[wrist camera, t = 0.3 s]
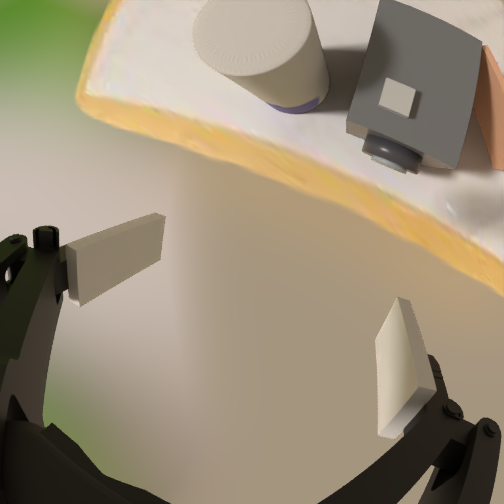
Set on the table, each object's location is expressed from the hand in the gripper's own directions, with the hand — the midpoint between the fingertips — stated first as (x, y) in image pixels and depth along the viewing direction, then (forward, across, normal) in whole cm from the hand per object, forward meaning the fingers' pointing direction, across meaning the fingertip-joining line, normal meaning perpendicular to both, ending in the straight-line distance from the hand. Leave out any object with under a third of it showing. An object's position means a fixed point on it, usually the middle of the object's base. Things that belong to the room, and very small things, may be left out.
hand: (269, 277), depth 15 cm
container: (+28, -8, +16) cm, 33 cm away
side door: (+27, +19, +21) cm, 39 cm away
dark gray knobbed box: (+27, +7, +17) cm, 33 cm away
